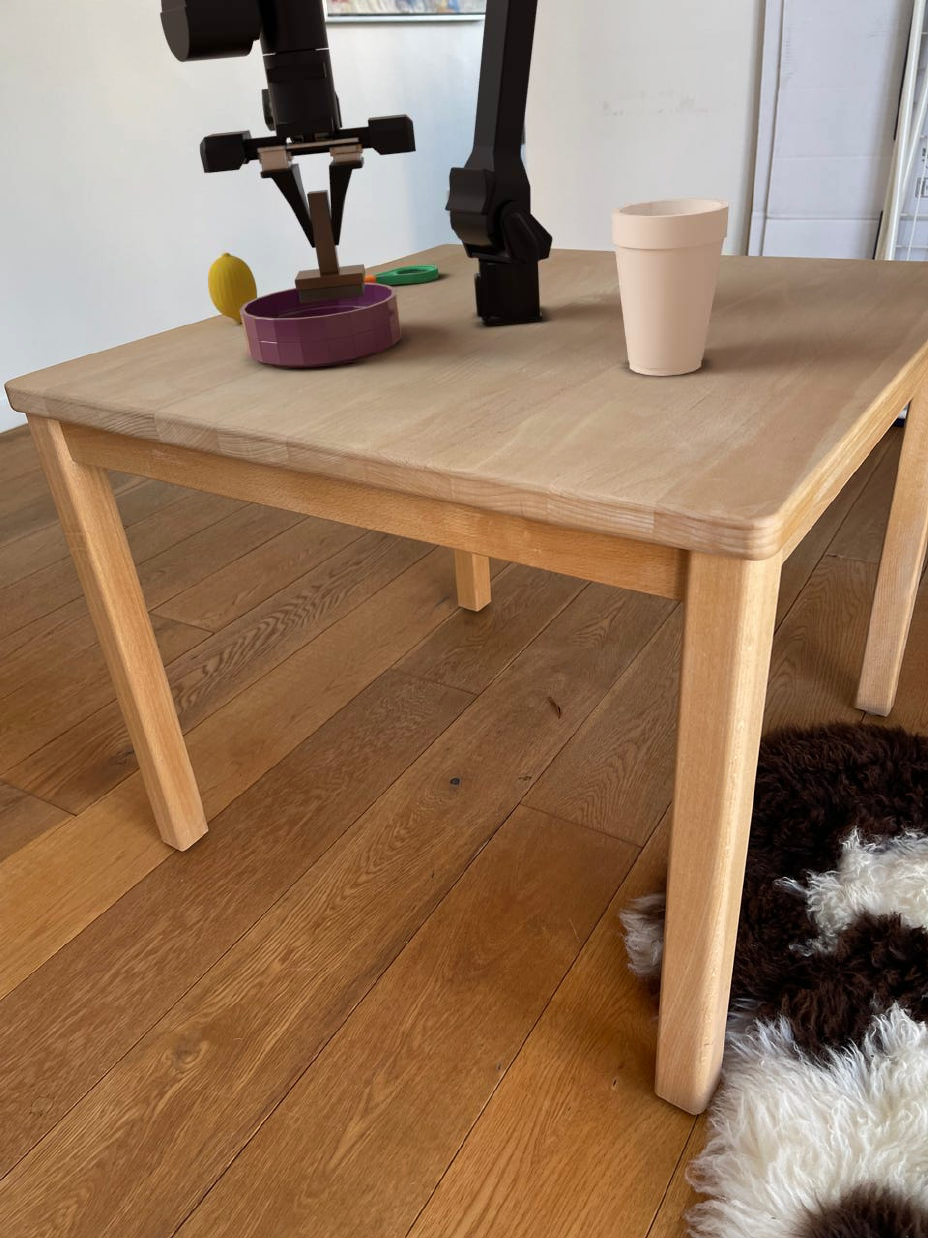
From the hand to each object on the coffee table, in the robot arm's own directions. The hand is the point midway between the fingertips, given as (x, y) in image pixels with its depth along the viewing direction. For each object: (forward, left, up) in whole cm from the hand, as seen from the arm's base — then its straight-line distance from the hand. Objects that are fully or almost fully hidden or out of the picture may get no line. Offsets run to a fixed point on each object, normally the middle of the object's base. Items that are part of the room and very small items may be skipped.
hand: (325, 245), depth 87 cm
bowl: (+2, -6, -11) cm, 12 cm away
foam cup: (-30, +11, -11) cm, 34 cm away
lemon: (+14, -22, -11) cm, 28 cm away
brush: (0, 0, -5) cm, 5 cm away
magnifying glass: (-3, -36, -11) cm, 38 cm away
